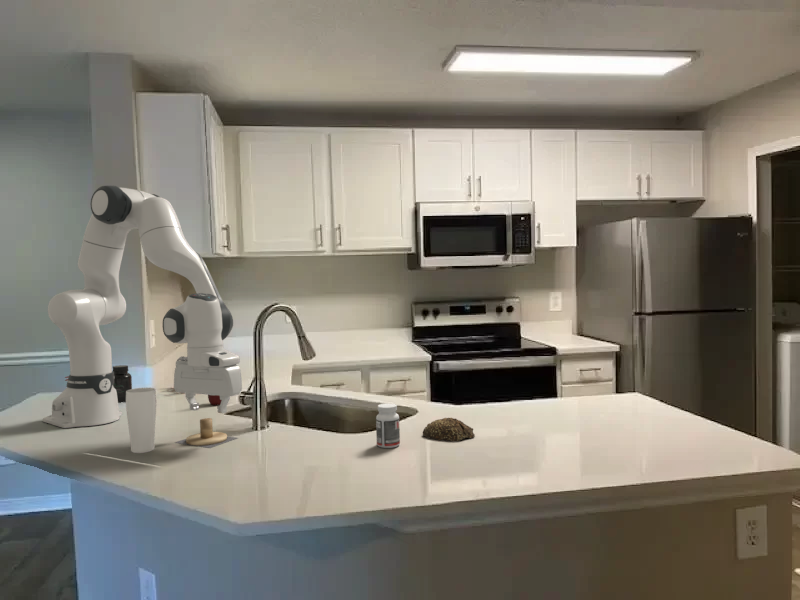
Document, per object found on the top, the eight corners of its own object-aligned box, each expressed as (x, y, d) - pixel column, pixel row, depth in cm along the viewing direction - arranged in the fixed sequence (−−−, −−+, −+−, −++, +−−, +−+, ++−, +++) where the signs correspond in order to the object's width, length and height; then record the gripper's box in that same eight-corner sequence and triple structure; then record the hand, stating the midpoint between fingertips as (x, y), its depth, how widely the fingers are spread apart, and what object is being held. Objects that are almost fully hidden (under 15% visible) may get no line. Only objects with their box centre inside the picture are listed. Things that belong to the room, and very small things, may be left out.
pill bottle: (403, 443, 154) (402, 403, 154) (395, 449, 149) (394, 408, 148) (381, 441, 156) (380, 402, 156) (373, 447, 151) (372, 407, 150)
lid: (177, 442, 156) (176, 422, 156) (207, 433, 165) (206, 413, 165) (206, 447, 152) (205, 426, 151) (235, 437, 160) (234, 417, 160)
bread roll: (416, 437, 161) (415, 418, 161) (446, 427, 170) (445, 409, 170) (455, 445, 152) (455, 425, 152) (484, 435, 161) (484, 416, 161)
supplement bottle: (118, 398, 217) (116, 364, 216) (136, 399, 216) (135, 364, 215) (106, 402, 210) (105, 367, 209) (125, 403, 209) (123, 367, 208)
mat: (174, 444, 157) (174, 442, 157) (203, 434, 166) (203, 433, 166) (210, 449, 151) (210, 447, 151) (238, 439, 160) (238, 437, 160)
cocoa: (217, 402, 210) (216, 366, 210) (233, 402, 208) (232, 366, 208) (199, 407, 201) (198, 369, 201) (216, 407, 199) (215, 369, 199)
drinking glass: (147, 456, 147) (144, 393, 146) (121, 454, 148) (119, 392, 147) (163, 448, 153) (161, 387, 153) (138, 446, 155) (136, 387, 154)
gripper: (166, 357, 160) (169, 411, 160) (227, 360, 150) (229, 417, 151) (185, 354, 165) (187, 406, 166) (244, 357, 156) (247, 411, 156)
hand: (208, 411), depth 158 cm, fingers open, 8 cm apart
